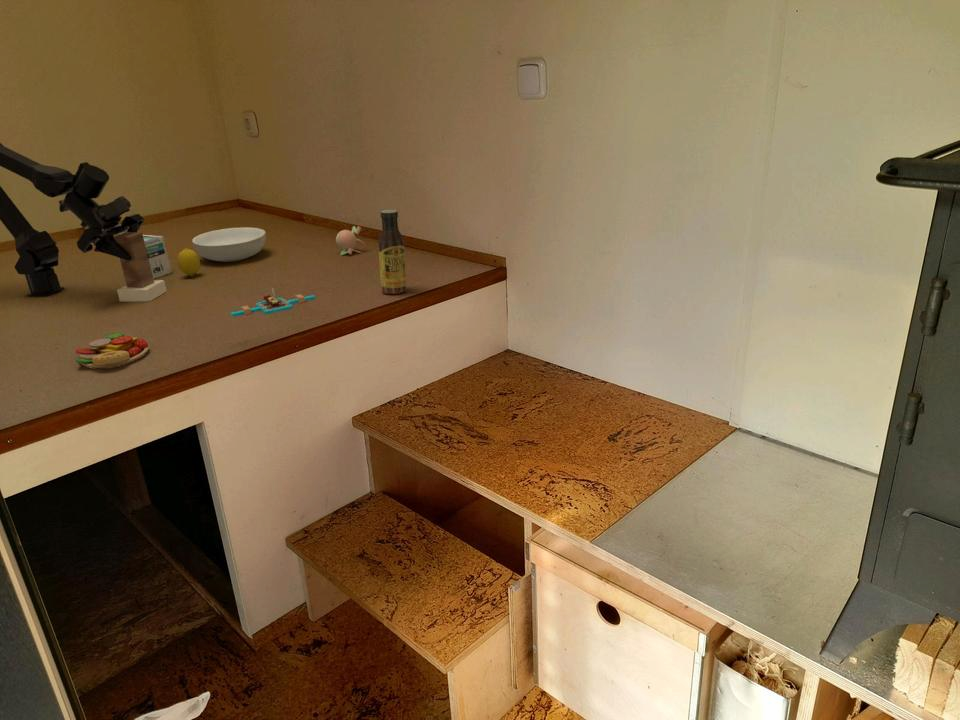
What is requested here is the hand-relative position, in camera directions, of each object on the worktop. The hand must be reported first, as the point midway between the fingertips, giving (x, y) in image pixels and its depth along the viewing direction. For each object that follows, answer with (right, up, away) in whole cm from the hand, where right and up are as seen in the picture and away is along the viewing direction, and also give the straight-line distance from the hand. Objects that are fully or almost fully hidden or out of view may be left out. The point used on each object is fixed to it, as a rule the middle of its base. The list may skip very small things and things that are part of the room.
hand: (138, 256), depth 172 cm
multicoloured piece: (+36, -14, -6) cm, 39 cm away
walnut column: (-1, -7, +3) cm, 8 cm away
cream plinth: (-1, -10, +5) cm, 11 cm away
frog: (+46, +6, +36) cm, 59 cm away
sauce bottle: (+64, -9, -1) cm, 65 cm away
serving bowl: (+11, +5, +36) cm, 38 cm away
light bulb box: (-8, -2, +23) cm, 25 cm away
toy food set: (+11, -26, -32) cm, 42 cm away
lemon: (+5, -3, +19) cm, 20 cm away
